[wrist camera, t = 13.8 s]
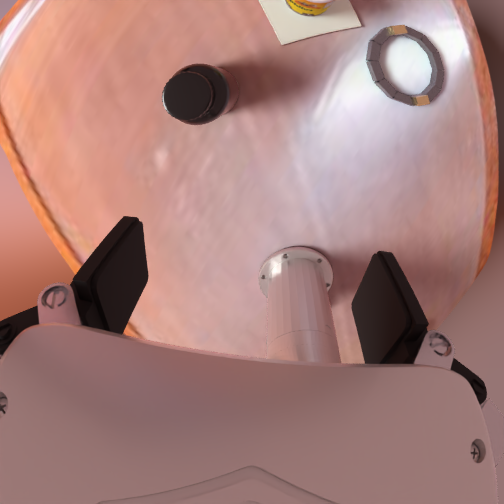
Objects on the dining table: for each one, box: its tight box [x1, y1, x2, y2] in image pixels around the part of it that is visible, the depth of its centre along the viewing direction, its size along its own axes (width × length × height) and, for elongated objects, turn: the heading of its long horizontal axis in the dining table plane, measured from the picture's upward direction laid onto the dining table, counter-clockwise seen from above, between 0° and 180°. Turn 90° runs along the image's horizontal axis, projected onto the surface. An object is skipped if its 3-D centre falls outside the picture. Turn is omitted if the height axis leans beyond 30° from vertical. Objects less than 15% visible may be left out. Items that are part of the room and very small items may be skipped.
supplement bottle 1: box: [162, 64, 239, 125], centre depth 26 cm, size 7×7×12 cm
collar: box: [366, 25, 444, 106], centre depth 25 cm, size 11×11×2 cm
